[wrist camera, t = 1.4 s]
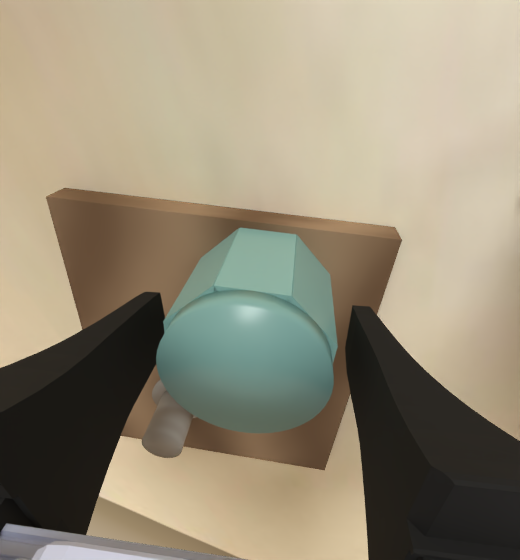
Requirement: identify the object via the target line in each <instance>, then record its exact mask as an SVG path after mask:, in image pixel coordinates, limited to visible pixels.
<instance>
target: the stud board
mask: <svg viewBox="0 0 520 560" xmlns="http://www.w3.org/2000/svg"><path fill="white" fill-rule="evenodd" d="M46 199H47V202H48V206H49V209H50V213H51V217H52V220H53V224H54V228H55V231H56V235H57V238H58V242H59V246H60V249H61V253H62V257H63V260H64V264H65V268H66V271H67V275H68V278H69V282H70V286H71V289H72V293H73V297H74V300H75V304H76V308H77V311H78V315H79V318H80V322H81V326H82V329H85V328H87V327H89V326H90V325H92V324H94V323H95V322H97V321H99V320H100V319H102V318H104V317H105V316H107V315H108V314H110V313H111V312H113V311H115V310H116V309H118V308H119V307H121V306H122V305H124V304H125V303H127V302H129V301H130V300H132V299H133V298H135V297H136V296H138V295H140V294H142V293H143V292H159V293H160V294H161V299H162V304H163V309H164V314H165V318H166V316H167V314H168V313H169V311H170V309H171V308H172V306H173V304H174V302H175V301H176V299H177V297H178V296H179V294H180V292H181V291H182V289H183V287H184V286H185V284H186V282H187V281H188V279H189V277H190V275H191V274H192V272H193V270H194V269H195V267H196V265H197V264H198V262H199V260H200V259H201V257H203V256H204V255H205V254H206V253H208V252H209V251H210V250H211V249H213V248H214V247H215V246H217V245H218V244H219V243H220V242H222V241H223V240H224V239H226V238H227V237H228V236H229V235H231V234H232V233H233V232H234V231H236V230H237V229H238V228H248V229H256V230H264V231H273V232H281V233H289V234H296V235H298V236H299V238H300V239H301V240H302V241H303V242H304V244H305V245H306V246H307V247H308V248H309V250H310V251H311V252H312V253H313V254H314V256H315V257H316V258H317V259H318V261H319V262H320V263H321V264H322V265H323V267H324V268H325V269H326V270H327V271H328V273H329V274H330V278H331V287H332V297H333V307H334V316H335V326H336V336H337V345H338V347H337V351H336V354H335V358H334V362H333V375H334V385H333V390H332V394H331V396H330V399H329V401H328V402H327V404H326V406H325V407H324V408H323V409H322V410H321V412H320V413H319V414H317V415H316V416H315V417H314V418H313V419H311V420H309V421H308V422H306V423H304V424H302V425H300V426H298V427H295V428H292V429H289V430H285V431H280V432H274V433H245V432H238V431H233V430H228V429H225V428H221V427H218V426H215V425H213V424H210V423H208V422H206V421H204V420H202V419H200V418H198V417H196V416H194V415H193V414H191V413H190V412H188V411H187V410H186V409H184V408H183V407H182V406H181V405H179V404H178V403H177V402H176V401H175V400H174V399H173V398H172V397H171V395H170V394H169V393H168V391H167V390H166V389H165V387H164V385H163V383H162V382H161V379H160V377H159V374H158V370H157V364H156V365H155V367H154V369H153V371H152V373H151V375H150V377H149V378H148V380H147V382H146V384H145V386H144V388H143V390H142V391H141V393H140V395H139V397H138V399H137V401H136V403H135V404H134V406H133V408H132V410H131V412H130V415H129V417H128V419H127V421H126V424H125V426H124V429H123V431H122V433H121V436H126V437H132V438H138V439H142V445H143V446H144V448H145V449H146V450H147V451H149V452H150V453H152V454H154V455H156V456H159V457H164V458H173V457H176V456H178V455H179V454H180V453H181V451H182V448H183V446H185V447H191V448H197V449H203V450H208V451H214V452H220V453H226V454H232V455H238V456H244V457H250V458H256V459H262V460H267V461H273V462H279V463H285V464H291V465H297V466H303V467H309V468H315V469H321V470H325V467H326V464H327V461H328V458H329V455H330V452H331V449H332V446H333V443H334V440H335V437H336V434H337V431H338V428H339V425H340V422H341V419H342V417H343V414H344V411H345V408H346V405H347V402H348V399H349V396H350V388H349V382H348V377H347V370H346V356H345V345H346V339H347V334H348V328H349V322H350V316H351V311H352V305H356V306H370V307H371V308H372V309H373V311H374V312H375V313H376V315H377V312H378V309H379V307H380V304H381V301H382V298H383V295H384V292H385V289H386V286H387V283H388V280H389V277H390V274H391V271H392V268H393V265H394V262H395V259H396V256H397V253H398V250H399V247H400V244H401V241H402V239H401V237H400V236H399V234H398V232H397V230H396V228H395V227H388V226H379V225H371V224H363V223H354V222H346V221H337V220H329V219H321V218H312V217H304V216H295V215H287V214H279V213H270V212H262V211H253V210H245V209H237V208H228V207H220V206H211V205H203V204H195V203H186V202H178V201H169V200H161V199H153V198H144V197H136V196H127V195H119V194H111V193H102V192H94V191H85V190H77V189H69V188H64V189H61V190H59V191H57V192H55V193H53V194H51V195H49V196H46Z"/></svg>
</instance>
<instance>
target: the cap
mask: <svg viewBox="0 0 520 560" xmlns="http://www.w3.org/2000/svg"><path fill="white" fill-rule="evenodd" d="M163 323H164V333H165V334H164V335H163V337H162V339H161V341H160V343H159V346H158V349H157V355H156V364H157V370H158V374H159V377H160V379H161V382H162V383H163V385H164V387H165V389H166V390H167V391H168V393H169V394H170V395H171V397H172V398H173V399H174V400H175V401H176V402H177V403H178V404H179V405H181V406H182V407H183V408H184V409H186V410H187V411H188V412H190V413H191V414H193V415H194V416H196V417H198V418H200V419H202V420H204V421H206V422H208V423H210V424H213V425H215V426H218V427H221V428H225V429H228V430H233V431H238V432H245V433H274V432H280V431H285V430H289V429H292V428H295V427H298V426H300V425H302V424H304V423H306V422H308V421H309V420H311V419H313V418H314V417H315V416H316V415H317V414H319V413H320V412H321V410H322V409H323V408H324V407H325V406H326V404H327V402H328V401H329V399H330V396H331V394H332V390H333V385H334V375H333V362H334V358H335V354H336V351H337V347H338V345H337V336H336V326H335V316H334V307H333V297H332V287H331V278H330V274H329V273H328V271H327V270H326V269H325V268H324V267H323V265H322V264H321V263H320V262H319V261H318V259H317V258H316V257H315V256H314V254H313V253H312V252H311V251H310V250H309V248H308V247H307V246H306V245H305V244H304V242H303V241H302V240H301V239H300V238H299V236H298V235H296V234H289V233H281V232H273V231H264V230H256V229H248V228H238V229H237V230H236V231H234V232H233V233H232V234H231V235H229V236H228V237H227V238H226V239H224V240H223V241H222V242H220V243H219V244H218V245H217V246H215V247H214V248H213V249H211V250H210V251H209V252H208V253H206V254H205V255H204V256H203V257H201V259H200V260H199V262H198V264H197V265H196V267H195V269H194V270H193V272H192V274H191V275H190V277H189V279H188V281H187V282H186V284H185V286H184V287H183V289H182V291H181V292H180V294H179V296H178V297H177V299H176V301H175V302H174V304H173V306H172V308H171V309H170V311H169V313H168V314H167V316H166V318H165V319H164V321H163Z"/></svg>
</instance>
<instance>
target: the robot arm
mask: <svg viewBox="0 0 520 560" xmlns="http://www.w3.org/2000/svg"><path fill="white" fill-rule="evenodd" d="M164 319H165V314H164V309H163V304H162V299H161V294H160V293H159V292H143V293H142V294H140V295H138V296H136V297H135V298H133V299H132V300H130V301H129V302H127V303H125V304H124V305H122V306H121V307H119V308H118V309H116V310H115V311H113V312H111V313H110V314H108V315H107V316H105V317H104V318H102V319H100V320H99V321H97V322H95V323H94V324H92V325H90V326H89V327H87V328H85V329H83V330H82V331H80V332H78V333H77V334H75V335H73V336H71V337H69V338H67V339H66V340H64V341H62V342H60V343H58V344H56V345H54V346H52V347H49V348H47V349H45V350H43V351H41V352H39V353H36V354H34V355H32V356H29V357H27V358H25V359H22V360H20V361H17V362H15V363H13V364H10V365H8V366H5V367H2V368H0V560H247V559H240V558H233V557H226V556H220V555H214V554H207V553H200V552H194V551H187V550H180V549H173V548H167V547H160V546H154V545H147V544H140V543H133V542H127V541H121V540H114V539H107V538H100V537H94V536H87V535H86V533H87V530H88V526H89V524H90V520H91V517H92V514H93V511H94V508H95V504H96V501H97V498H98V496H99V493H100V490H101V487H102V484H103V481H104V478H105V475H106V473H107V470H108V467H109V464H110V462H111V459H112V456H113V454H114V451H115V449H116V446H117V443H118V441H119V438H120V436H121V433H122V431H123V429H124V426H125V424H126V421H127V419H128V417H129V415H130V412H131V410H132V408H133V406H134V404H135V403H136V401H137V399H138V397H139V395H140V393H141V391H142V390H143V388H144V386H145V384H146V382H147V380H148V378H149V377H150V375H151V373H152V371H153V369H154V367H155V365H156V355H157V349H158V346H159V343H160V341H161V339H162V337H163V335H164V334H165V333H164V323H163V321H164ZM345 356H346V370H347V377H348V382H349V388H350V393H351V398H352V403H353V408H354V413H355V418H356V423H357V428H358V434H359V441H360V450H361V461H362V471H363V483H364V495H365V509H366V523H367V538H368V556H369V560H520V441H519V440H517V439H515V438H514V437H512V436H511V435H509V434H507V433H506V432H504V431H503V430H501V429H500V428H498V427H497V426H495V425H494V424H492V423H491V422H489V421H488V420H486V419H485V418H484V417H482V416H481V415H479V414H478V413H477V412H475V411H474V410H472V409H471V408H470V407H469V406H467V405H466V404H465V403H463V402H462V401H461V400H459V399H458V398H457V397H455V396H454V395H453V394H452V393H450V392H449V391H448V390H447V389H446V388H444V387H443V386H442V385H441V384H440V383H439V382H438V381H436V380H435V379H434V378H433V377H432V376H431V375H430V374H429V373H427V372H426V371H425V370H424V369H423V368H422V367H421V366H420V365H419V364H418V363H417V362H416V361H415V360H414V359H413V358H412V357H411V356H410V354H409V353H408V352H407V351H406V350H405V349H404V348H403V347H402V346H401V344H400V343H399V342H398V341H397V340H396V339H395V337H394V336H393V335H392V334H391V333H390V331H389V330H388V329H387V328H386V326H385V325H384V324H383V322H382V321H381V320H380V319H379V317H378V316H377V315H376V313H375V312H374V311H373V309H372V308H371V307H370V306H356V305H352V311H351V316H350V322H349V328H348V334H347V339H346V345H345Z"/></svg>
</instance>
